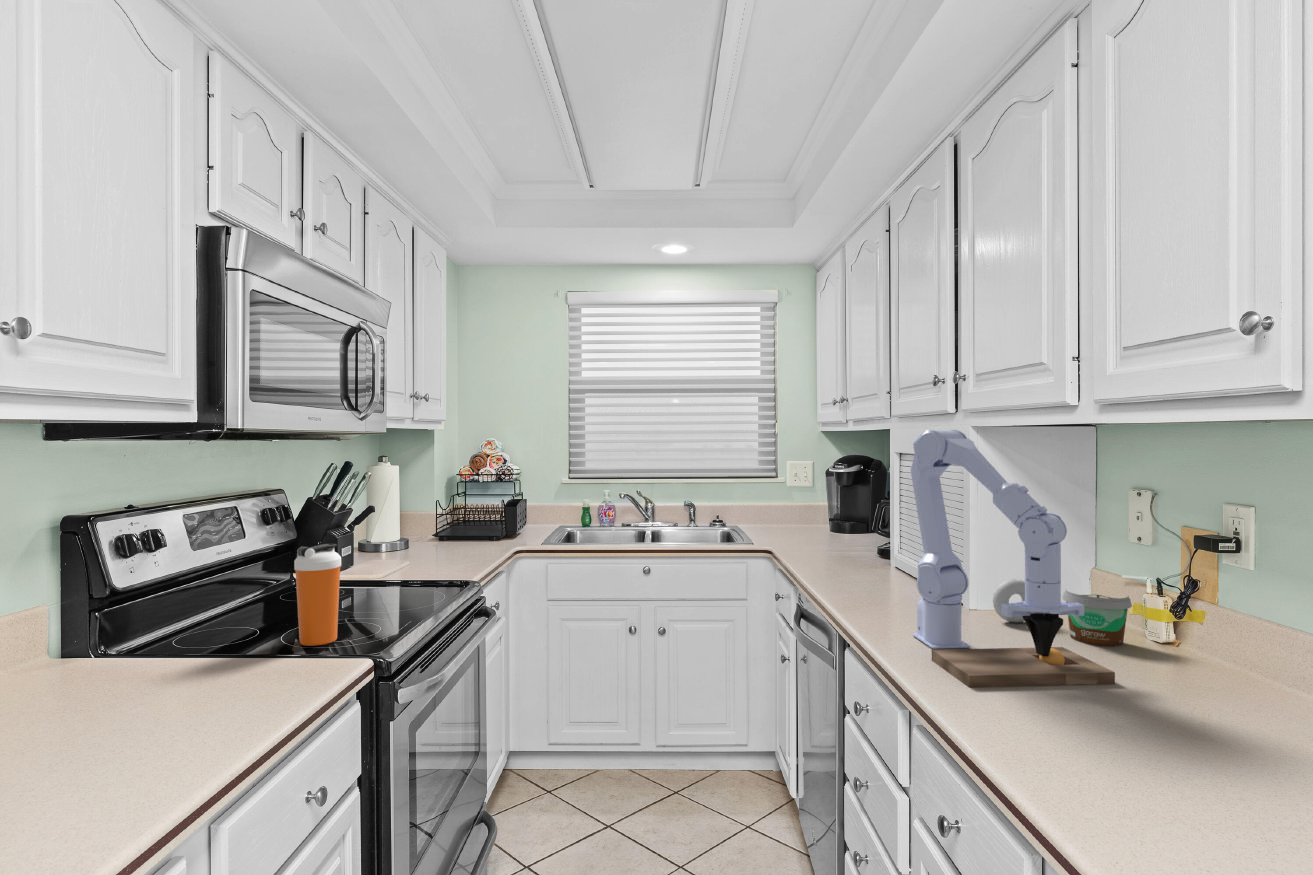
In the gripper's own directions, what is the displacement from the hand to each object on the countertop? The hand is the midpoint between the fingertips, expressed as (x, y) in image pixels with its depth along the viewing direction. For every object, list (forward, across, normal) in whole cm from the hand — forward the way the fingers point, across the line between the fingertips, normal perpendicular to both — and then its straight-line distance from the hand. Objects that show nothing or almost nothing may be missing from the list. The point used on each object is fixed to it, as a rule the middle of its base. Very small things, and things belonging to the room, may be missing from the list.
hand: (1042, 654), depth 125 cm
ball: (+1, +2, 0) cm, 2 cm away
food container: (+3, +22, +15) cm, 26 cm away
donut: (+3, +14, +31) cm, 34 cm away
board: (+3, -4, 0) cm, 5 cm away
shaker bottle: (+3, -140, +27) cm, 143 cm away
